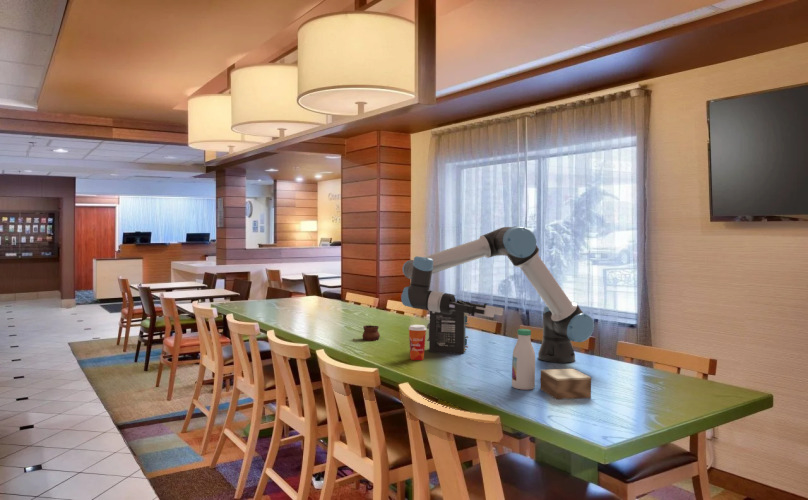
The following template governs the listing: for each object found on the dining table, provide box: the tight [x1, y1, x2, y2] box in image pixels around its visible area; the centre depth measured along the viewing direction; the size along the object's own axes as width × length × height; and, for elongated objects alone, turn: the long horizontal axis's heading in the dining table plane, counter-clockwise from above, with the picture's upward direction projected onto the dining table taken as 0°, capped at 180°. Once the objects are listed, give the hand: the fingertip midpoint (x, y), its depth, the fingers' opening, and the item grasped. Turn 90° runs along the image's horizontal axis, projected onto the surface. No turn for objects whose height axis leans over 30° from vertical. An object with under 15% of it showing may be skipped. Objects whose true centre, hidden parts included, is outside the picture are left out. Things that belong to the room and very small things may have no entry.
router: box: [426, 310, 470, 355], centre depth 253 cm, size 8×18×20 cm, turn 78°
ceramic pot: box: [352, 324, 381, 342], centre depth 279 cm, size 18×18×7 cm
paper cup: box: [408, 324, 427, 361], centre depth 236 cm, size 8×8×14 cm
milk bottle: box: [511, 328, 536, 391], centre depth 194 cm, size 8×8×20 cm
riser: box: [540, 368, 592, 400], centre depth 188 cm, size 12×12×7 cm
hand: (498, 312), depth 200 cm, fingers open, 13 cm apart
